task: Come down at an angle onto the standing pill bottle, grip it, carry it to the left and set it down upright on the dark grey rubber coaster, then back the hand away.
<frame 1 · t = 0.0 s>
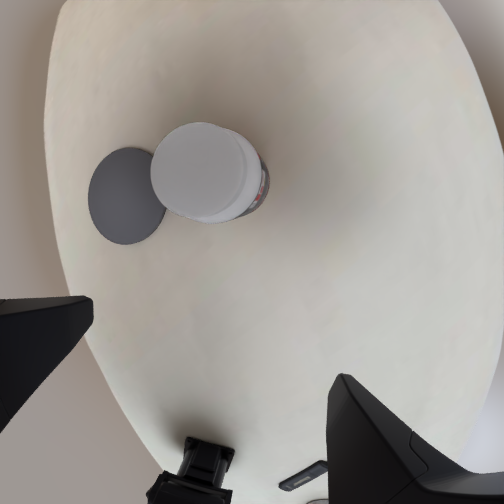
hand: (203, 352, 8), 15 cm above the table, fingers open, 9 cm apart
coaster: (125, 196, 23), on the table
bolt: (319, 503, 30), on the table
usb stick: (304, 472, 28), on the table
pill bottle: (235, 182, 22), on the table
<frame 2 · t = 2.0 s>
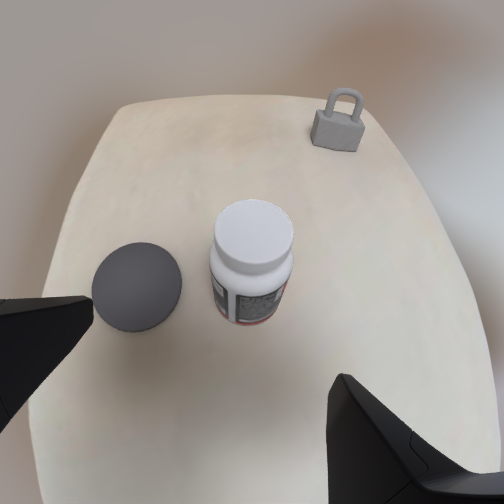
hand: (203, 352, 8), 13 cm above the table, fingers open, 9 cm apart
coaster: (135, 286, 24), on the table
pill bottle: (246, 297, 24), on the table
padlock: (332, 144, 38), on the table
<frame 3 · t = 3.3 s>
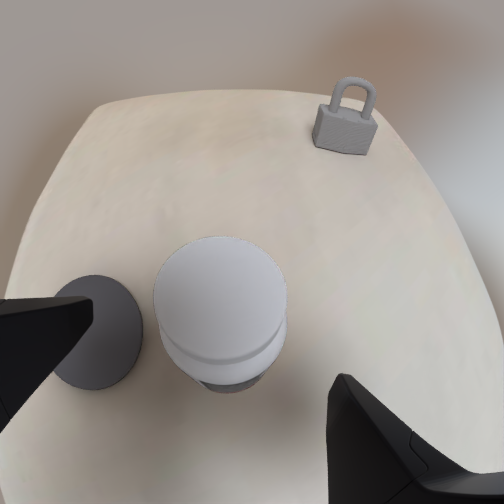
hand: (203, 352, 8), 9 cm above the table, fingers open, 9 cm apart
coaster: (89, 331, 17), on the table
pill bottle: (226, 353, 17), on the table
padlock: (338, 146, 32), on the table
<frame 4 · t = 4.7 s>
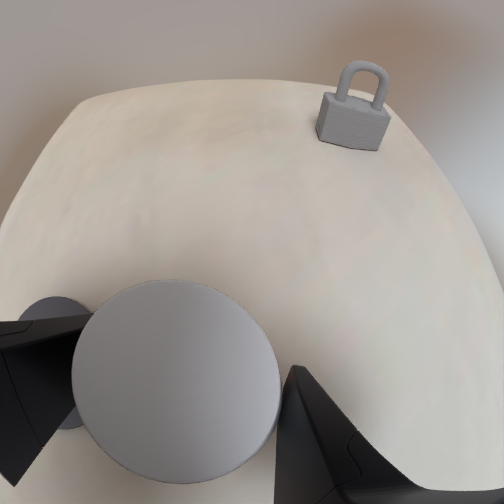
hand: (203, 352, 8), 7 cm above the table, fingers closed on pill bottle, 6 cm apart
coaster: (53, 362, 13), on the table
pill bottle: (208, 398, 13), on the table, touching gripper
padlock: (346, 140, 28), on the table
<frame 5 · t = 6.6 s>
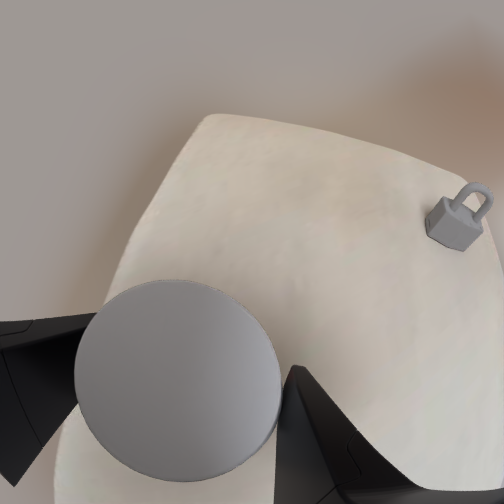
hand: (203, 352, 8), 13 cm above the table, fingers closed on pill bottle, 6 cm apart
pill bottle: (209, 397, 13), point 6 cm above the table, touching gripper
padlock: (444, 237, 30), on the table
when the fingers open (8 cm above the table, at t = 8.3 s): pill bottle stays where it is, resting on coaster.
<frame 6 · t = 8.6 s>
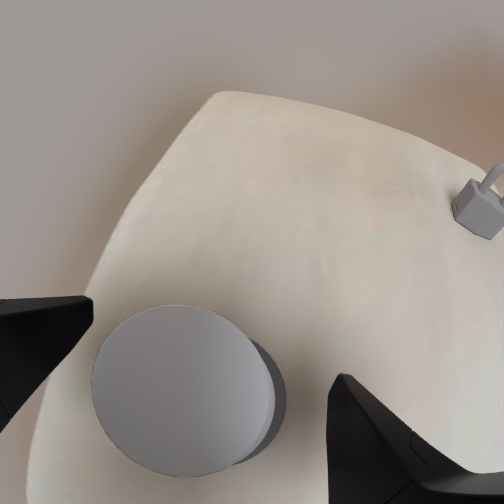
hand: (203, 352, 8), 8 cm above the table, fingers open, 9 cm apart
coaster: (210, 398, 15), on the table
pill bottle: (209, 401, 14), resting on coaster
padlock: (470, 223, 25), on the table
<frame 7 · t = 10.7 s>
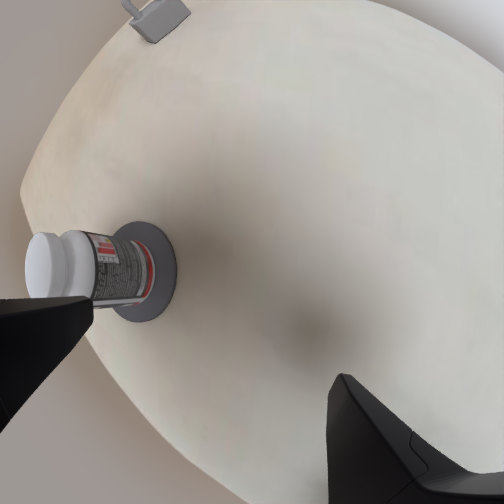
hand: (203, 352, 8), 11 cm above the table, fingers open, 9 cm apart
coaster: (137, 271, 23), on the table
pill bottle: (135, 272, 23), resting on coaster
padlock: (169, 27, 27), on the table
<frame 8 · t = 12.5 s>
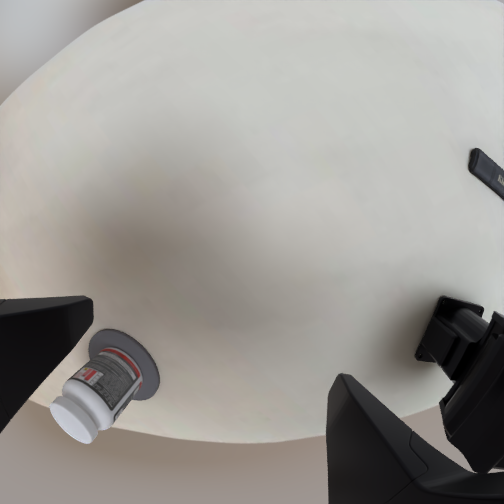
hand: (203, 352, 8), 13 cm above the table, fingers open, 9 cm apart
coaster: (123, 365, 25), on the table
usb stick: (496, 182, 17), on the table
pill bottle: (122, 367, 25), resting on coaster
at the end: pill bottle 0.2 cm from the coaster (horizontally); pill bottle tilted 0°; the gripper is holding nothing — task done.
